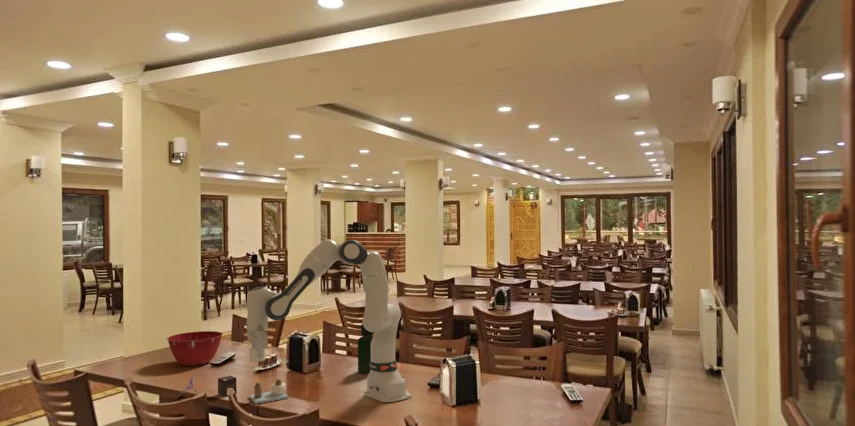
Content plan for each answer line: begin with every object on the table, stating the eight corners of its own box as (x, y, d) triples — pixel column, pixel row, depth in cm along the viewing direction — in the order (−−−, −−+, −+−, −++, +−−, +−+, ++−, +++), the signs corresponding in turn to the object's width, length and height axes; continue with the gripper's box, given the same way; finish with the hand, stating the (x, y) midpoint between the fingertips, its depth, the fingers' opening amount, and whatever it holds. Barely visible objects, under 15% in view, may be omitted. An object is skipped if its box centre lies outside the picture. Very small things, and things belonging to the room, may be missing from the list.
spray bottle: (379, 368, 285) (379, 321, 285) (376, 374, 275) (375, 324, 275) (360, 368, 286) (359, 321, 286) (355, 374, 276) (355, 324, 276)
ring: (266, 360, 237) (266, 348, 237) (252, 362, 233) (252, 350, 233) (263, 357, 242) (262, 346, 242) (248, 359, 239) (248, 348, 239)
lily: (195, 392, 254) (184, 375, 252) (213, 384, 250) (202, 367, 248) (178, 408, 243) (166, 390, 241) (196, 400, 238) (184, 382, 237)
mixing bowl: (167, 360, 310) (167, 333, 311) (220, 354, 322) (220, 328, 323) (166, 372, 285) (166, 343, 285) (224, 365, 297) (224, 337, 297)
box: (229, 391, 251) (229, 375, 251) (237, 393, 247) (236, 377, 247) (217, 394, 246) (217, 378, 246) (224, 397, 242) (224, 380, 242)
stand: (289, 398, 239) (289, 381, 239) (255, 404, 231) (255, 387, 231) (281, 391, 248) (281, 375, 248) (249, 397, 240) (249, 380, 241)
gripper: (271, 327, 231) (271, 359, 230) (258, 320, 248) (258, 350, 248) (256, 328, 227) (256, 361, 227) (244, 321, 245) (244, 352, 244)
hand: (257, 355), depth 238 cm, fingers closed on ring, 6 cm apart
